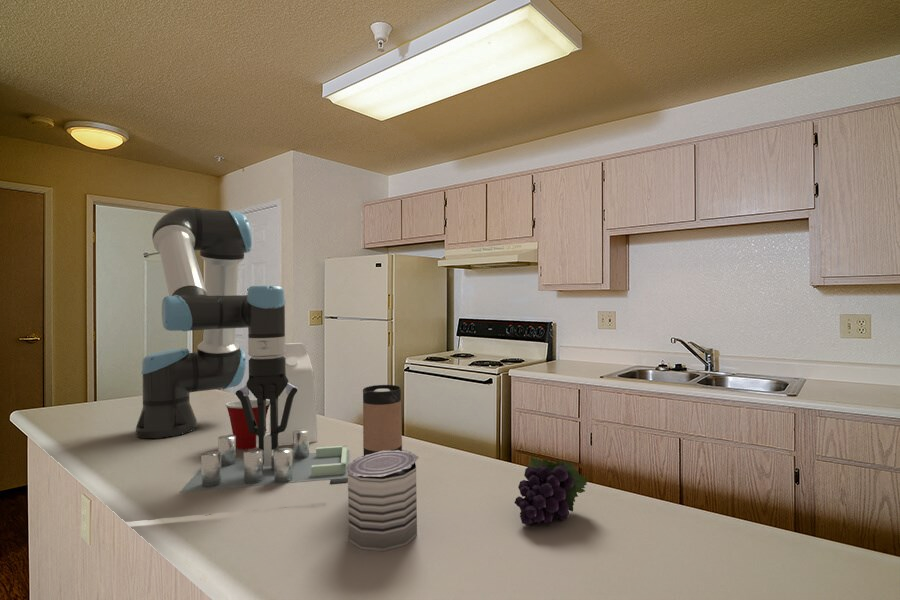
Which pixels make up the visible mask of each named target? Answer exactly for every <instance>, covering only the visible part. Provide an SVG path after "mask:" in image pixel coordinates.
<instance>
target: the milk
mask: <svg viewBox="0 0 900 600" xmlns="http://www.w3.org/2000/svg"><path fill="white" fill-rule="evenodd" d="M305 346H306V345H304V343H303V342H294V343H293V342H292V343H285V354H283V356H284V358H285V363H286V377H287V379H288V383H290V384H291V385H293V386H298V391H297V392H296V394H295V395H294V398H293V402H292V407H291V411H290V415H289V419H288V424H287V427H286V429H285V431H284V432H280V433H278V447H280V446H282V447H283V446H289V445H293V431H295V430H298V429H308V430H309V443H315V442H319V440H318V439H319V438H318V421H317V420H318V419H317V405H316V387H315V374H314V369H313V365H312V362H311V358H310V355H309V353H308V350H307V347H305ZM286 391H287V389H286V388H285V389H284V390H283V392H282V393H281V394H280V396H279V397H278V426H280V424H281V420H282V416H283V411H284V407H285V403H286V399H287V396H288V394H287V393H286ZM268 423H269V428H268V429H269V430H268V432H270V433H271V421H270V420H269V422H268Z"/></svg>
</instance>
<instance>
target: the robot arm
mask: <svg viewBox="0 0 900 600" xmlns="http://www.w3.org/2000/svg"><path fill="white" fill-rule="evenodd" d="M251 230H252V229H251V225H250V222H249V220H248V219H247V216H246V215H245V214H244V213H242V212H239V211H238V212H237V211H233V210H232V211H231V210H223V209H210V208H197V207H196V208H194V207H180V208H176V209H174V210H171V211H169V212H167V213H166V214H164V215H163V216H162V217H161V218H159V220H158V221H157V222H156V223H155V225H154V227H153V230H152V243H153V248H154V249H155V250H156V252H158V253H159V254H160V258H161V264H162V268H163V272H164V273H163V274H164V278H165V281H166V285H167V286H166V287H167V291H168V296H164V298H163V299H162V302H161V318H162V319H161V321H162V322H161V323H162V326H163V328H164V330H166V331H170V332H171V331H172V332H173V331H174V332H175V331H176V332H177V331H180V332H181V331H182V332H188V331H189V332H190V331H203V336H202V337H203V340H202V341H201V342H200V343H199V344H198V345H197V351H196V352H190V350H189V349H188V348H187V347H186V348H185V347H184V348H174V349H168V350H163V351H157V352H154V353H153V352H152V353H150V354H148V355H146V356H144V357H143V359H142V362H141V364H142V368H141V369H142V370H141V375H142V408H141V412H140V415H139V417H138V421H137V422H136V423H137V424H136V426H135V427H136V428H135V436H136V437H137V438H139V437H140V439H145V438H155V439H163V438H162V437H166V438H169V437H168V436H172V437H175V436H174V435H177V436H180V435H179V434H182V433H185V434H187V433H186V432H188V433H190V432H189V431H191V430H193V429H195V428H196V427H197V424H198V423H197V421H198V420H197V418H196V415H195V412H194V410H193V407H192V405H191V402H190V393H194V392H195V393H196V392H204V391H212V390H226V389H229V388H235V387H237V386H239V385H240V384H241V383H242V381H243V380H244V377H245V373H246V372H245V371H246V368H247V367H246V366H247V365H246V363H247V362H246V352H245V351H244V350H243V349H242V348H241V345H240V343H238V342H237V341H236V329H243V328H247V329H248V330H247V333H248V334H247V336H248V337H247V342H248V343H247V345H248V346H247V349H248V353H247V354H248V356H249V357H250V358H249V359H248V379H247V381H246V384H245V385H244V386H243V387H241V388H239V389H237V390H236V391H235V396H236V398H238V401H241V404H242V408H243V411H244V415H245V418H246V422H247V426H248V429H249V432H250V433H251V434H256V435H258V437H259V449H262V450H264V467H268V466H272V465H271V457H272V455H273V453H274V451H275V450H277V449H278V447H279V446H278V433H280V432H284V431H285V429H286V427H287V424H288V419H289V415H290V411H291V407H292V402H293V398H294V395H295V394H296V392H297V391H298V386H293V385H291V384H290V383H288V379H287V377H286V363H285V358H284V356H283V354H285V344H286V315H285V314H286V299H285V290H284V288H283V287H282V286H280V285H251V286H249V287H248V289H247V294H246V295H242V294H241V295H238V279H239V278H238V274H239V265H240V263H241V262H243V261H244V260H245V254H247V253H250V252H251V250H252V246H253V240H252V239H253V238H252V231H251ZM195 251H199V257H200V258H201V259H202V260H203V261H204V262H205V277H204V278H205V279H203V275H202V272H201V269H200V265H199V263H198V259H197V256H196V252H195ZM285 388H286V389H287V391H286V393H287V394H288V396H287V399H286V403H285V407H284V411H283V416H282V420H281V424H280V426H278V397H279V396H280V394H281V393H282V392H283V390H284V389H285ZM249 391H250V392H251V394H252V395H253V396H254V397H255V398H256V400H257V405H258V427H257V424H256V421H255V417H254V413H253V410H252V406H251V403H250V400H251V399H250V397H249V395H250V392H249ZM267 400H269V401H270V405H269V422H270V421H271V433H266V432H268V431H267V415H266V401H267ZM197 428H198V427H197ZM197 428H196V429H197ZM196 429H195V430H196ZM193 431H194V430H193ZM191 432H192V431H191ZM182 435H183V434H182Z"/></svg>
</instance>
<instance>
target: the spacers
mask: <svg viewBox="0 0 900 600" xmlns="http://www.w3.org/2000/svg"><path fill="white" fill-rule="evenodd" d="M266 433H270V432H269V431H266ZM217 439H218V440H217V441H218V444H217V445H218V446H217V447H218V450H217V451H213V450H212V451H208V452H204V453H202V454H201V456H200V457H201V459H200V463H201V465H200V466H201V468H200V469H201V473H202V487H214V486H217V485H220V484H221V483H222V475H221V466H230V465H233V464H235V463H236V459H237V448H236V436H235V435H233V434H225V435H221V436H218V438H217ZM292 446H293V447H292V448H290V447H281V448H277V449H274V450H273V453H274V482H276V483H284V484H287V483H286V482H289V481H291V480H292V479H293V462H292V452H295V459H304V458H307V457H309V453H310V442H309V430H308V429H298V430H295V431H293V444H292ZM243 458H244V483H246V484H254V483H258V482H261V481H262V480H263V463H264V450H262V449H259V437H258V435H256V448H253V449H245V450H244V451H243Z"/></svg>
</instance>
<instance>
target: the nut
mask: <svg viewBox="0 0 900 600" xmlns="http://www.w3.org/2000/svg"><path fill="white" fill-rule="evenodd" d="M292 462H293V469H294V466H295V452H293V451H292ZM271 465H272V466H271V469H272V471H274V452H273V455H272V457H271Z"/></svg>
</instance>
